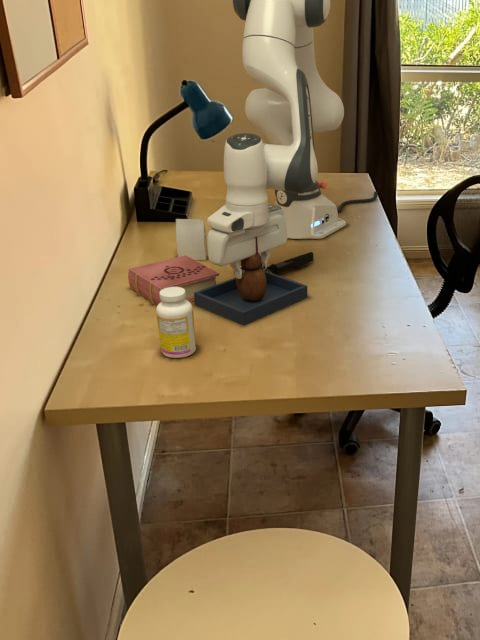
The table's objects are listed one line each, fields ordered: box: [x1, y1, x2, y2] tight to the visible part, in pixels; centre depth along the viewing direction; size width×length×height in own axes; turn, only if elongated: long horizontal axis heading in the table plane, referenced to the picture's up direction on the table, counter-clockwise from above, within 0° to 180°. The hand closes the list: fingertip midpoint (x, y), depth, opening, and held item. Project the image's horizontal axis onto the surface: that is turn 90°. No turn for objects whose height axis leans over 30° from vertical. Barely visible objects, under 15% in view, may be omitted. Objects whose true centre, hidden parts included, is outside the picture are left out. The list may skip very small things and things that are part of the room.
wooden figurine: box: [236, 237, 267, 301], centre depth 166 cm, size 7×6×15 cm
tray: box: [194, 269, 309, 326], centre depth 168 cm, size 20×16×3 cm
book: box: [127, 255, 220, 307], centre depth 171 cm, size 14×15×5 cm
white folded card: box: [175, 218, 208, 261], centre depth 189 cm, size 4×7×10 cm, turn 95°
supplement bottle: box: [155, 287, 197, 359], centre depth 144 cm, size 7×7×13 cm
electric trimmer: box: [264, 251, 315, 276], centre depth 186 cm, size 4×16×3 cm, turn 142°
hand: (251, 273), depth 166 cm, fingers closed on wooden figurine, 5 cm apart
